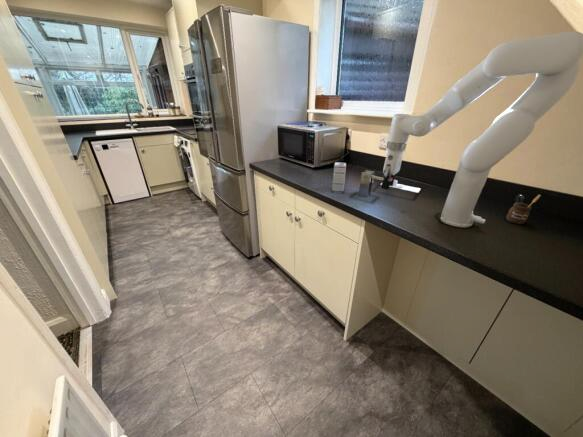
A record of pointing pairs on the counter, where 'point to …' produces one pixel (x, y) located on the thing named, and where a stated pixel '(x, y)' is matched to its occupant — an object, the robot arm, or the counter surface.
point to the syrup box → (339, 176)
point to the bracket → (366, 183)
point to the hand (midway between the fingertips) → (386, 186)
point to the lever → (378, 177)
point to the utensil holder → (520, 212)
